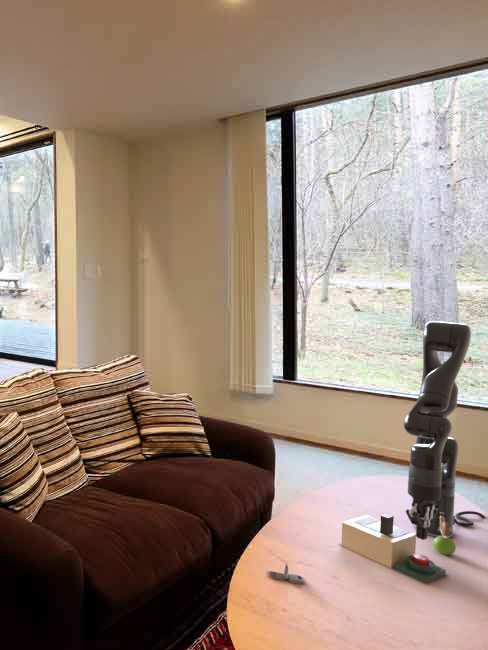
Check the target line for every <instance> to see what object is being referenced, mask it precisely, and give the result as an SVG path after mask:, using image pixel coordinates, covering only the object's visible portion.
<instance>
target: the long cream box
mask: <svg viewBox="0 0 488 650" xmlns="http://www.w3.org/2000/svg"><path fill="white" fill-rule="evenodd" d="M380 522H381V519H378V518H375V517H373V516H371V515H367V514H365V515H361V516H358V517H355V518H351V519H347V520H345V521H342V522H341V546H342V547H344V548H347V549H349V550H351V551H353V552H355V553H357V554H359V555H361V556H363V557H366V558H367V559H368V558H369V559H370V560H373V561H375V562H377V563H379V564H381V565H383V566H386V567H389V568H390V569H392V568H395V564H398V563H400V562H403V561H406V557H407V556H410V555H412V556H413V554H416V550H417V549H416V548H417V537H416V533H414V532H410V531H408V530H406V529H403V528H400V527H397V526H395V525H393V534H390V535H385V534H382V533H380Z"/></svg>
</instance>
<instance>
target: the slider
mask: <svg viewBox="0 0 488 650" xmlns="http://www.w3.org/2000/svg"><path fill="white" fill-rule="evenodd" d="M394 517H395V516H394V515H391V514H389V513H384V514H381V515H380V521H381V522H380V533H382V534H385V535H390V534H393V526H394Z"/></svg>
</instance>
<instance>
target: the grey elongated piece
mask: <svg viewBox="0 0 488 650" xmlns="http://www.w3.org/2000/svg"><path fill="white" fill-rule="evenodd" d="M269 577H270V578H272V579H275V580H279V581H285V580H287V581H289V582H290V583H294V584H304V578H303V576H302V575H299V574H294V573H289V564H288V563H287V562H285V563H284V571H283V573H282V572H281V573H280V572H277V571H276V572H275V571H269Z"/></svg>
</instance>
